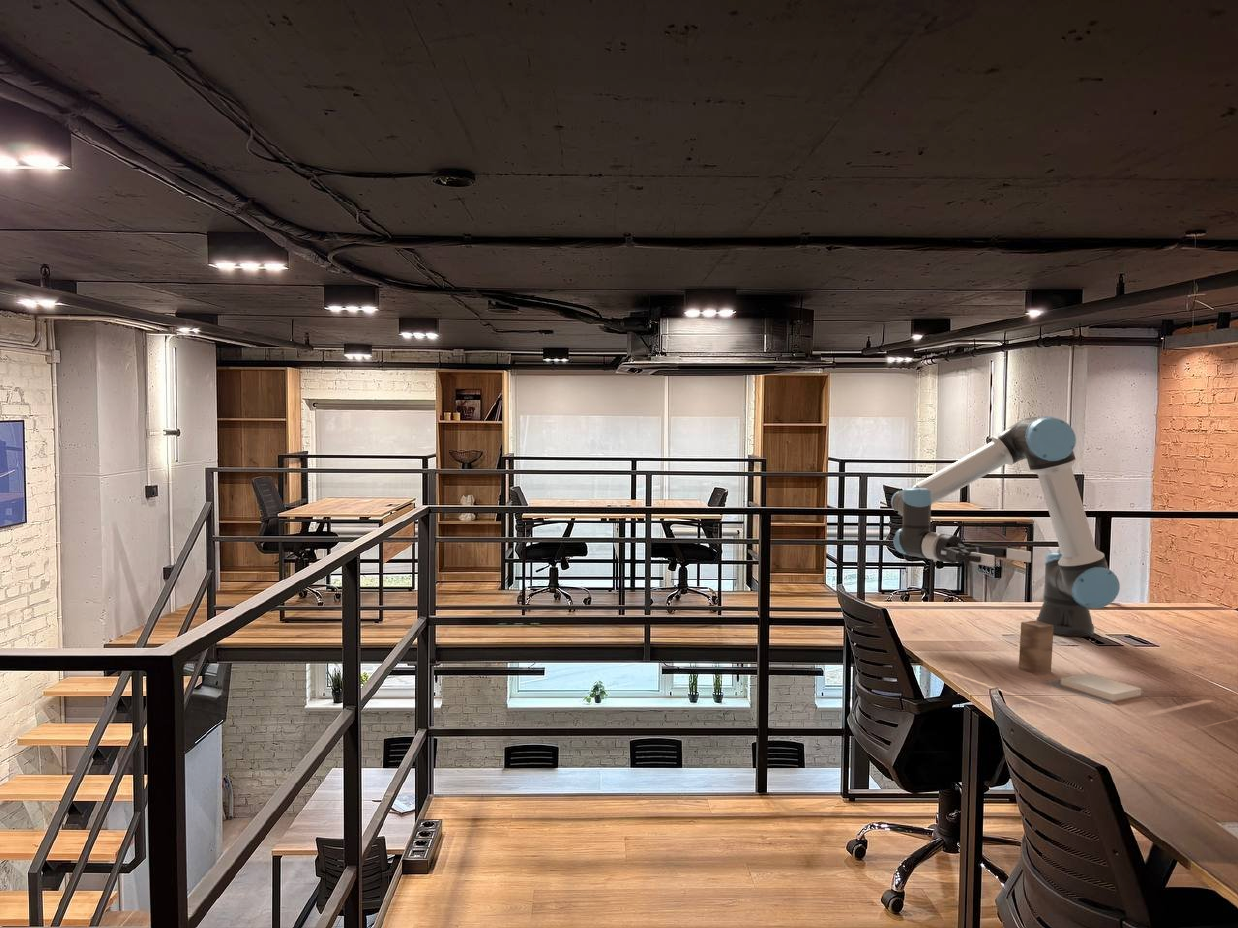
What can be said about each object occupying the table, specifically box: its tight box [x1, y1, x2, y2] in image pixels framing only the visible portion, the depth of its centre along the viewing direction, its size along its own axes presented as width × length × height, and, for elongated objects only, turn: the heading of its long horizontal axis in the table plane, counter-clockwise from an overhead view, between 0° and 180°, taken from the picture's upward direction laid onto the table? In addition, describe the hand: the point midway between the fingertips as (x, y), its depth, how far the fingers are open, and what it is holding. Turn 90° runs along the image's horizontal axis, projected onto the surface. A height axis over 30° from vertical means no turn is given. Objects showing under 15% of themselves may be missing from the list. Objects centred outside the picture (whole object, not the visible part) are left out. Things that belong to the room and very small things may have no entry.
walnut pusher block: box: [1018, 620, 1054, 675], centre depth 198 cm, size 5×5×12 cm
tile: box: [1060, 672, 1142, 703], centre depth 184 cm, size 2×10×12 cm
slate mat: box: [1044, 679, 1148, 705], centre depth 185 cm, size 15×14×1 cm
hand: (1012, 559), depth 206 cm, fingers open, 13 cm apart
